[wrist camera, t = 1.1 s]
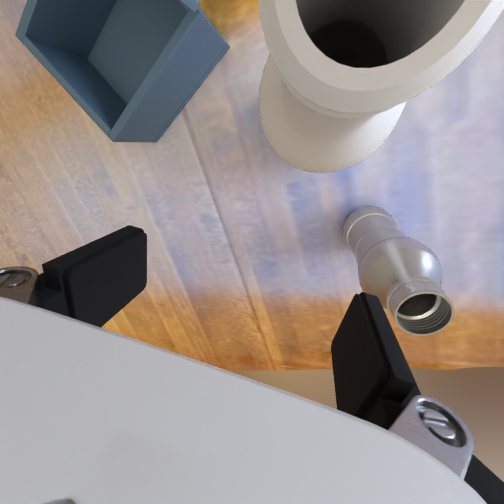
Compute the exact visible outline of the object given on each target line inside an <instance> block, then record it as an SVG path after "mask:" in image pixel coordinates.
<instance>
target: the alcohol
mask: <svg viewBox="0 0 504 504" xmlns="http://www.w3.org/2000/svg"><path fill="white" fill-rule="evenodd" d="M259 9H260V19H261V23H262V27H263V31H264V36H265V40H266V44H267V46H268V48H269V50H270V55H269V57H268V60H267V62H266V64H265V67H264V71H263V75H262V79H261V83H260V88H259V102H258V104H259V115H260V120H261V124H262V128H263V131H264V133H265V136H266V138H267V140H268V142H269V144H270V145H271V146H272V148H273V149H274V150H275V152H276V153H277V154H278V155H279V156H280V157H281V158H282V159H284V160H285V161H286V162H287V163H289V164H291V165H293V166H294V167H296V168H298V169H302V170H305V171H308V172H316V173H327V172H336V171H339V170H342V169H346V168H349V167H351V166H353V165H355V164H357V163H358V162H360V161H362V160H363V159H365V158H366V157H367V156H369V155H370V154H371V153H373V152H374V151H375V150H376V149H377V148H378V147H379V146H380V145H381V144H382V143H383V142H384V141H385V139H386V138H387V136H388V135H389V134H390V132H391V131H392V129H393V128H394V126H395V125H396V123H397V121H398V119H399V117H400V115H401V113H402V111H403V108H404V106H405V103H406V101H408V100H410V99H412V98H414V97H415V96H417V95H419V94H421V93H423V92H424V91H426V90H428V89H430V88H431V87H433V86H434V85H435V84H436V83H438V82H439V81H440V80H442V79H443V78H444V77H445V76H447V75H448V74H449V73H451V72H452V71H453V70H454V69H455V68H456V67H457V66H458V65H459V64H460V63H461V62H462V61H463V60H464V59H465V58H466V57H467V56H468V55H469V54H470V53H471V52H472V51H473V50H474V49H475V48H476V47H477V46H478V44H479V43H480V42H481V40H482V39H483V38H484V36H485V35H486V34H487V32H488V31H489V30H490V28H491V27H492V26H493V24H494V23H495V22H496V20H497V19H498V17H499V16H500V14H501V12H502V11H503V9H504V0H259Z"/></svg>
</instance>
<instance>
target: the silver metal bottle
mask: <svg viewBox="0 0 504 504" xmlns="http://www.w3.org/2000/svg"><path fill="white" fill-rule="evenodd" d="M342 236H343V240H344V243H345V245H346V246H347V247H348V249H349V250H350V251H351V252H352V253H353V254H354V255H355V257H356V260H357V263H358V276H359V281H360V285H361V288H362V290H363V292H365V293H368V294H372V295H375V296H377V297H378V298H379V300H380V303H381V305H382V307H383V308H385V309H388V311H389V313H390V314H391V316H392V317H393V318H394V320H395V322H396V324H397V325H398V326H399V328H401V329H402V330H403V331H405V332H406V333H409V334H412V335H417V336H425V335H431V334H435V333H437V332H439V331H441V330H443V329H444V328H446V327H447V326H448V325H449V324H450V322H451V321H452V319H453V316H454V307H453V304H452V302H451V301H450V299H449V298H448V297H447V296H446V295H445V292H444V290H443V289H442V288H441V282H442V269H441V266H440V263H439V260H438V258H437V256H436V255H435V253H434V252H433V251H432V250H431V249H430V248H428V247H427V246H425V245H423V244H422V243H420V242H418V241H416V240H414V239H412V238H410V237H408V236H406V235H404V234H403V233H402V232H400V231H399V229H398V228H397V226H396V223H395V221H394V219H393V218H392V216H391V215H390V214H389V213H388V212H387V211H385V210H383V209H381V208H378V207H371V206H369V207H362V208H359V209H357V210H355V211H354V212H352V213H351V214H350V215H349V216H348V218H347V219H346V221H345V223H344V226H343V235H342Z"/></svg>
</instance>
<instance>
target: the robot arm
mask: <svg viewBox="0 0 504 504" xmlns="http://www.w3.org/2000/svg"><path fill="white" fill-rule="evenodd" d="M42 267H43V271H44V273H42V274H40V275H38V272H37V271H36V270H35V269H32V268H29V267H7V268H2V269H0V504H504V482H503V481H501V480H500V479H499V478H498V477H497V476H496V475H495V474H494V473H493V472H492V471H490V470H489V469H488V468H487V467H486V466H485V465H484V464H483V463H481V461H479V460H478V459H477V458H476V457H475V456H474V455H473V451H474V441H473V438H472V435H471V433H470V431H469V430H468V428H467V427H466V425H465V424H464V422H463V421H462V420H461V419H460V418H459V417H458V416H457V415H456V414H455V413H454V412H453V411H452V410H451V409H450V408H448V407H447V406H446V405H444V404H443V403H441V402H440V401H438V400H436V399H434V398H432V397H429V396H424V395H421V393H420V391H419V389H418V386H417V384H416V382H415V379H414V377H413V375H412V373H411V370H410V368H409V366H408V363H407V361H406V359H405V357H404V354H403V352H402V350H401V348H400V345H399V343H398V341H397V339H396V336H395V334H394V332H393V330H392V327H391V325H390V323H389V321H388V318H387V316H386V314H385V312H384V309H383V307H382V305H381V303H380V300H379V298H378V297H377V296H375V295H372V294H368V293H365V292H361V293H360V295H359V294H355V296H354V297H353V300H352V302H351V304H350V306H349V308H348V310H347V312H346V314H345V316H344V318H343V320H342V322H341V324H340V326H339V329H338V331H337V333H336V335H335V337H334V339H333V341H332V345H331V354H332V363H333V373H334V382H335V392H336V402H337V409H334V408H332V407H329V406H326V405H323V404H320V403H317V402H315V401H312V400H309V399H307V398H303V397H301V396H298V395H296V394H293V393H290V392H287V391H284V390H281V389H278V388H275V387H273V386H269V385H267V384H264V383H261V382H258V381H255V380H252V379H249V378H247V377H244V376H241V375H238V374H235V373H232V372H229V371H227V370H224V369H221V368H218V367H215V366H212V365H209V364H206V363H203V362H200V361H198V360H195V359H192V358H189V357H186V356H183V355H180V354H177V353H174V352H171V351H168V350H165V349H162V348H160V347H157V346H154V345H151V344H148V343H145V342H142V341H139V340H136V339H133V338H130V337H127V336H124V335H121V334H118V333H115V332H112V331H109V330H106V329H103V328H101V327H102V326H103V325H104V324H105V323H106V322H107V321H109V320H110V319H111V318H112V317H113V316H114V315H115V314H117V313H118V312H119V311H120V310H121V309H122V308H123V307H125V306H126V305H127V304H128V303H129V302H130V301H131V300H133V299H134V298H135V297H136V296H137V295H138V294H139V293H140V292H142V291H143V290H144V288H145V287H146V283H147V235H146V233H144V230H143V229H141V228H137V227H134V226H130V225H129V226H126V227H124V228H122V229H120V230H117V231H115V232H113V233H111V234H108V235H106V236H104V237H102V238H100V239H97V240H95V241H93V242H91V243H89V244H86V245H84V246H82V247H80V248H77V249H75V250H73V251H71V252H69V253H66V254H64V255H62V256H60V257H57V258H55V259H53V260H51V261H49V262H46V263H44V264H42Z"/></svg>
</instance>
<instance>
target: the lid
mask: <svg viewBox="0 0 504 504" xmlns="http://www.w3.org/2000/svg"><path fill="white" fill-rule="evenodd" d="M180 1H181V2H182V3H184V4H185V5H186V6H187V7H188V8H190V9H191V10H192V11H193V12H196V11H197V9H198V7H199V6H200V3H199V1H198V0H180Z"/></svg>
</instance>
